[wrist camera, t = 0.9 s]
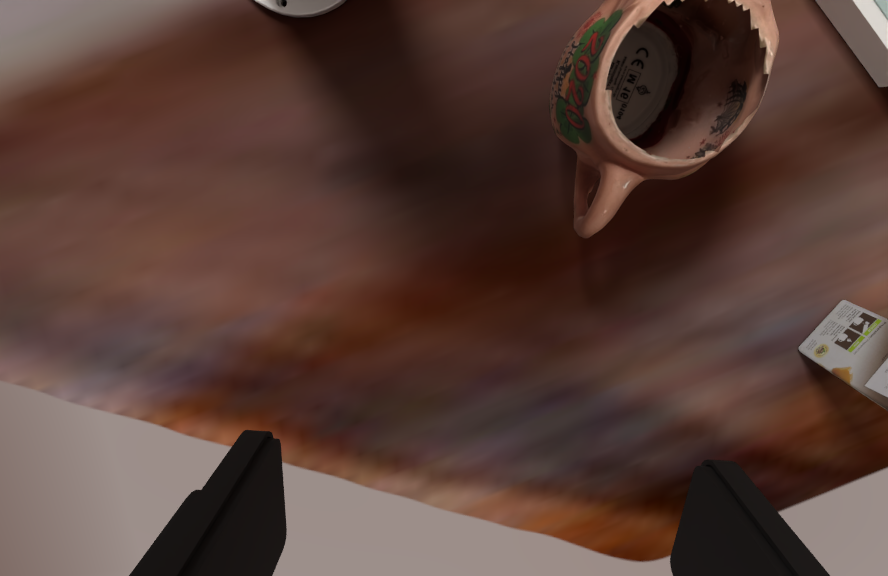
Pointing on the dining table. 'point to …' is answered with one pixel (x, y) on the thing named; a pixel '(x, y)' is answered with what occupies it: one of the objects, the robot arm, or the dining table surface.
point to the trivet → (863, 32)
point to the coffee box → (853, 349)
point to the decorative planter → (657, 92)
